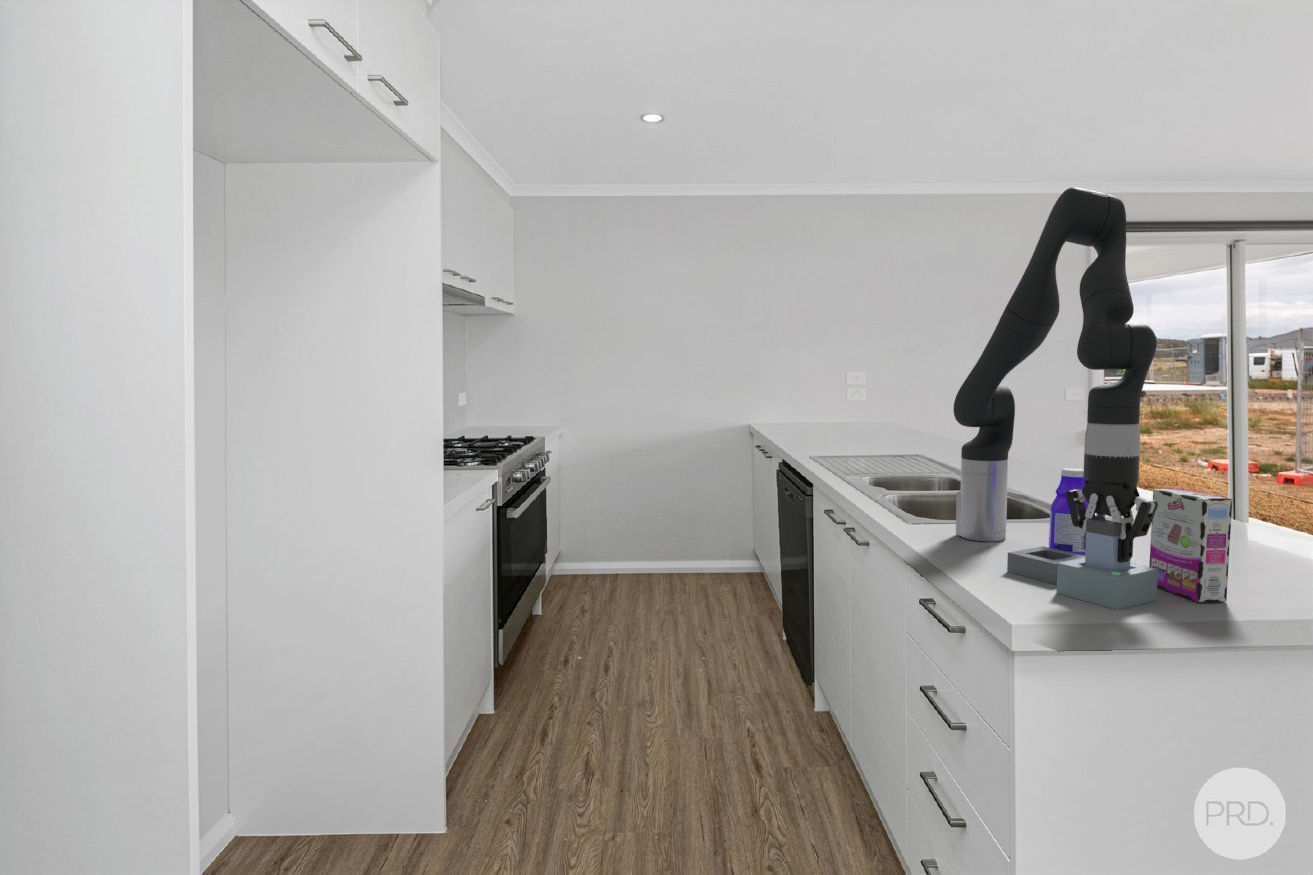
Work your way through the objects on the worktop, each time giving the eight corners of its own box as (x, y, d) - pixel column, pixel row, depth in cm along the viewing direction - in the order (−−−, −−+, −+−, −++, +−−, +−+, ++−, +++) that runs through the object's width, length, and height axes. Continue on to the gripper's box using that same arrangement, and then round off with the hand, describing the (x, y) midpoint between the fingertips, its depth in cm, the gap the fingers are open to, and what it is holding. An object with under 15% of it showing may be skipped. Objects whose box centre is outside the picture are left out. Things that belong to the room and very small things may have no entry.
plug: (1084, 580, 122) (1086, 519, 122) (1102, 576, 124) (1103, 516, 124) (1112, 587, 118) (1114, 524, 118) (1129, 583, 120) (1131, 521, 120)
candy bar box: (1229, 603, 118) (1235, 498, 116) (1199, 604, 117) (1204, 499, 116) (1174, 582, 129) (1179, 487, 127) (1146, 584, 128) (1151, 488, 127)
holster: (1007, 571, 137) (1007, 552, 137) (1042, 564, 141) (1042, 546, 141) (1055, 584, 129) (1056, 564, 128) (1091, 576, 133) (1091, 557, 133)
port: (1056, 592, 124) (1057, 560, 123) (1095, 584, 128) (1096, 553, 128) (1117, 609, 115) (1118, 574, 115) (1156, 600, 119) (1158, 566, 119)
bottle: (1088, 557, 147) (1091, 467, 145) (1094, 564, 141) (1098, 471, 140) (1046, 554, 149) (1049, 466, 148) (1051, 561, 144) (1054, 470, 142)
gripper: (1173, 454, 115) (1168, 565, 116) (1083, 446, 128) (1080, 546, 129) (1143, 457, 112) (1138, 571, 113) (1054, 449, 124) (1051, 552, 126)
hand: (1107, 557), depth 121 cm, fingers closed on plug, 4 cm apart
